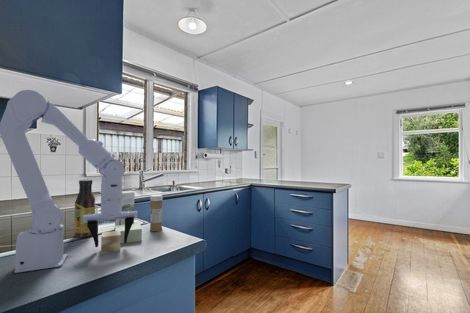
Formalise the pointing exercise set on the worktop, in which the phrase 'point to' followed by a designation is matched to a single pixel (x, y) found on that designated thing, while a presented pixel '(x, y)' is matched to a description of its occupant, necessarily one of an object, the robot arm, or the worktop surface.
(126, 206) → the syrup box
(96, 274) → the worktop surface
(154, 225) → the sprinkles bottle
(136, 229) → the sage block
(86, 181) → the sauce bottle
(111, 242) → the birch cube
